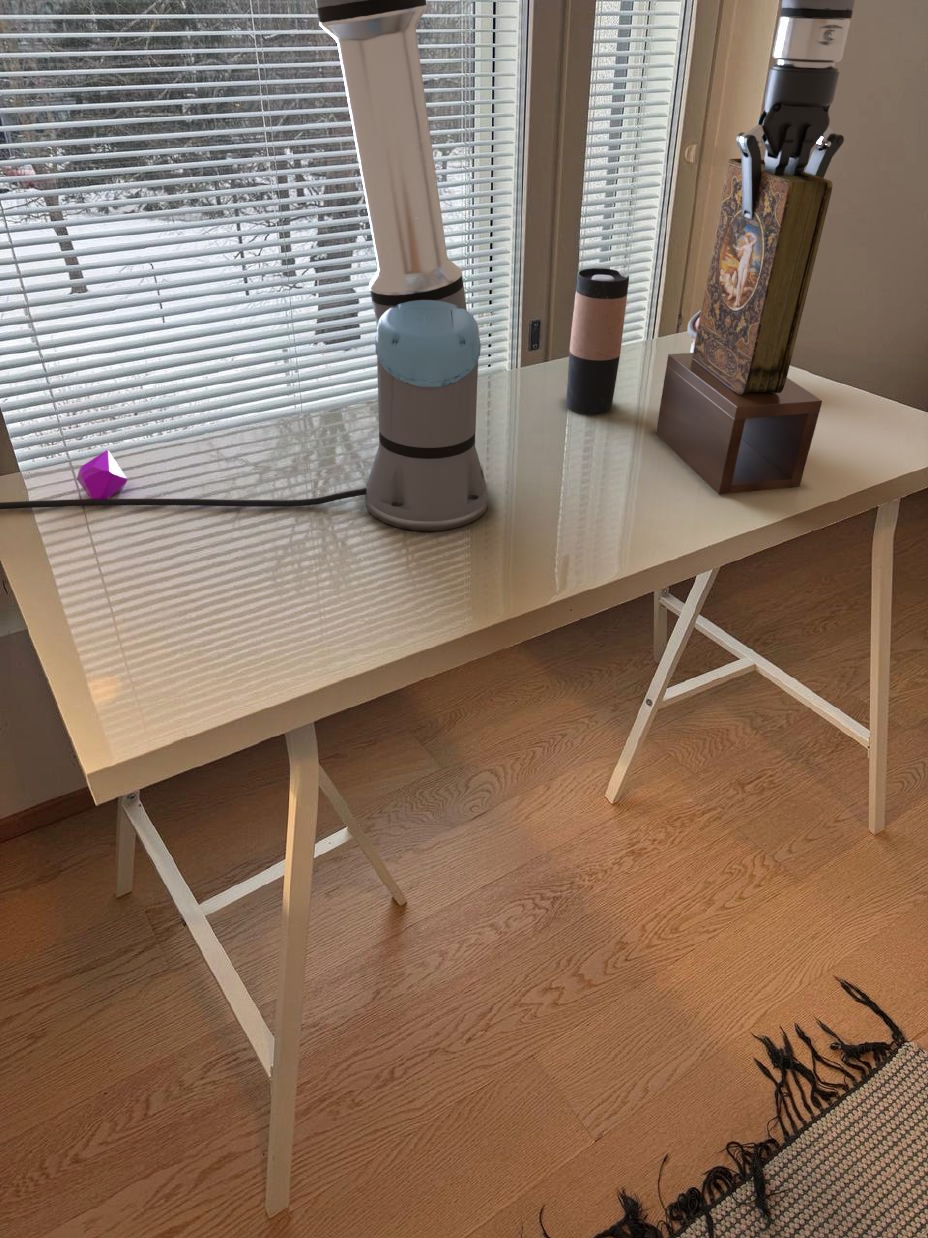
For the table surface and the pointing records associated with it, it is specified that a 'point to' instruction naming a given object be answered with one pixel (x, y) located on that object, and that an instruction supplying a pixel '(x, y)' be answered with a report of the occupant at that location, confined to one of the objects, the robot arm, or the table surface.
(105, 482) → the crystal
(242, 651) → the table surface
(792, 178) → the book
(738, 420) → the shelf
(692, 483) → the table surface
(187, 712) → the table surface
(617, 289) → the travel mug
